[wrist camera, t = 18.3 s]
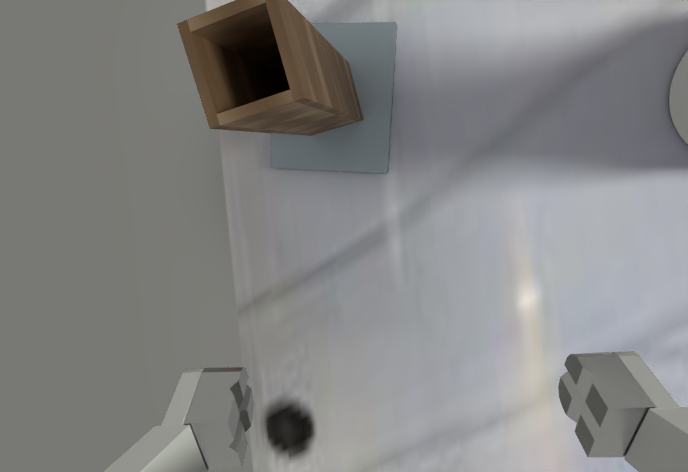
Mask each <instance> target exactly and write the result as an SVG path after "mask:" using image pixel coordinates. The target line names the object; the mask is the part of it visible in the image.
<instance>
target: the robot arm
mask: <svg viewBox="0 0 688 472" xmlns="http://www.w3.org/2000/svg"><path fill="white" fill-rule="evenodd" d="M669 106H670V113H671V117H672V121H673V123H674V126H675V128H676V130H677V132H678V133H679V135H680V136H681V138H682V139H683V140H684V141H685V142H686V143H687V144H688V51H687V52H686V53H685V55H684V56H683V58H682V59H681V61H680V63H679V65H678V67H677V69H676V71H675V74H674V76H673V79H672V83H671V87H670V95H669ZM565 366H566V368H567V370H568V372H566V373H565V374H564V375H563V376H561V378H560V382H559V386H558V387H559V398H560V401H561V404H562V407H563V409H564V411H565V413H566V415H567V416H568V417H570V418H571V419H572V420H574V421H575V422H576V423H577V425H576V429H575V433H576V435H577V437H578V439H579V441H580V443H581V445H582V447H583V449H584V451H585V453H586V455H587V457H625V458H624V459H625V460H626V461H627V462H628V463H629V464H631V465H632V466H633V467H634V468H635V469H636V470H637V471H638V472H688V408H687V407H679V406H678V405H677V403H676V402H675V401H674V399H673V398H672V397H671V396H670V394H669V393H668V392H667V390H666V389H665V388H664V387H663V385H662V384H661V383H660V381H659V380H658V379H657V378H656V376H655V375H654V374H653V373H652V371H651V370H650V369H649V367H648V366H647V365H646V364H645V362H644V361H643V360H642V358H641V357H640V356H639V355H638V354H637V353H635V352H634V351H630V352H612V353H610V352H602V353H583V354H570V355H569V356H568V357H567V359H566V362H565ZM247 381H248V374H247V370H246V368H243V367H242V368H193V369H192V368H191V369H186V370H185V371H184V372H183V373H182V374H181V377H180V379H179V382H178V384H177V387H176V389H175V391H174V394H173V396H172V399H171V401H170V404H169V407H168V409H167V412H166V414H165V416H164V419H163V421H162V424H161V426H154V427H153V428H152V429H151V430H150V431H149V432H148V433H146V434H145V435H144V436H143V437H142V438H141V439H140V440H139V441H137V442H136V443H135V444H134V445H133V446H132V447H131V448H130V449H128V450H127V451H126V452H125V453H124V454H123V455H122V456H121V457H120V458H119V459H117V460H116V461H115V462H114V463H113V464H112V465H111V466H110V467H108V468H107V469H106V470H105V471H104V472H208V471H209V470H225V469H242V468H243V463H244V458H245V453H246V449H247V444H248V442H247V438H246V435H245V432H246V431H247V430H248V429H249V428H250V427H251V424H252V419H253V408H254V401H253V393H252V389H251V388H250V387H249V386H247Z"/></svg>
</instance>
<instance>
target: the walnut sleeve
mask: <svg viewBox="0 0 688 472" xmlns="http://www.w3.org/2000/svg"><path fill="white" fill-rule="evenodd" d="M177 25H178V28H179V32H180V35H181V38H182V41H183V44H184V47H185V50H186V54H187V57H188V60H189V63H190V66H191V70H192V73H193V76H194V79H195V82H196V85H197V89H198V92H199V95H200V98H201V101H202V104H203V108H204V111H205V113H206V117H207V120H208V123H209V127H210V129H222V130H236V131H250V132H263V133H277V134H291V135H305V136H313V135H316V134H319V133H322V132H326V131H329V130H332V129H336V128H339V127H342V126H346V125H349V124H352V123H355V122H359V121H362V120H364V119H363V115H362V111H361V108H360V104H359V100H358V96H357V92H356V88H355V85H354V81H353V77H352V73H351V69H350V65H349V62H348V61H347V60H346V59H345V58H344V57H343V56H342V55H341V54H340V53H339V52H338V51H337V50H336V49H335V48H334V47H333V46H332V45H331V44H330V43H329V42H328V41H327V40H326V39H325V38H324V37H323V36H322V35H321V34H320V33H319V32H318V31H317V30H316V29H315V28H314V27H313V26H312V25H311V24H310V22H309V21H308V20H307V19H306V18H305V17H304V16H303V15H302V14H301V13H300V12H299V11H298V10H297V9H296V8H295V7H294V6H293V5H292V4H291V3H290V2H289V1H288V0H235V1H233V2H230V3H228V4H225V5H223V6H220V7H218V8H215V9H213V10H210V11H208V12H205V13H203V14H200V15H198V16H195V17H193V18H190V19H188V20H185V21H183V22H180V23H178V24H177Z"/></svg>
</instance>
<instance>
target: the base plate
mask: <svg viewBox="0 0 688 472" xmlns="http://www.w3.org/2000/svg"><path fill="white" fill-rule="evenodd" d="M310 24H311V25H312V26H313V27H314V28H315V29H316V30H317V31H318V32H319V33H320V34H321V35H322V36H323V37H324V38H325V39H326V40H327V41H328V42H329V43H330V44H331V45H332V46H333V47H334V48H335V49H336V50H337V51H338V52H339V53H340V54H341V55H342V56H343V57H344V58H345V59H346V60H347V61H348V62H349V65H350V69H351V73H352V77H353V81H354V85H355V88H356V92H357V96H358V100H359V104H360V108H361V111H362V115H363V119H364V120H362V121H359V122H355V123H352V124H349V125H346V126H342V127H339V128H336V129H332V130H329V131H326V132H322V133H319V134H316V135H313V136H305V135H291V134H277V133H271V168H286V169H306V170H325V171H344V172H364V173H383V174H387V173H388V168H389V152H390V135H391V118H392V102H393V85H394V68H395V51H396V35H397V24H396V22H388V23H310Z"/></svg>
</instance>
